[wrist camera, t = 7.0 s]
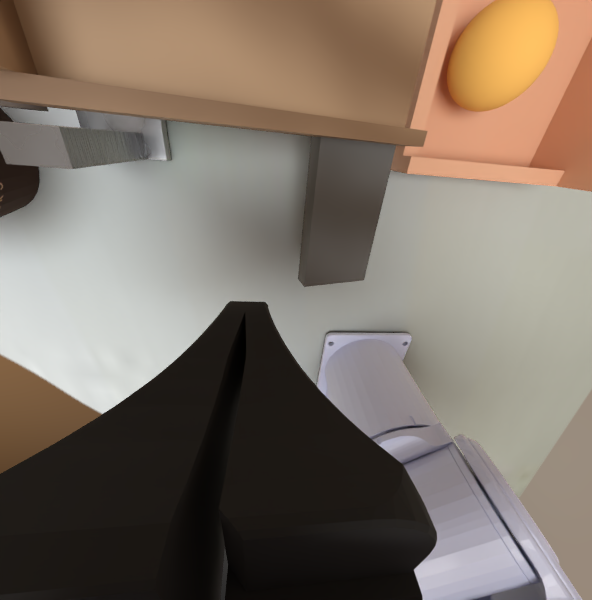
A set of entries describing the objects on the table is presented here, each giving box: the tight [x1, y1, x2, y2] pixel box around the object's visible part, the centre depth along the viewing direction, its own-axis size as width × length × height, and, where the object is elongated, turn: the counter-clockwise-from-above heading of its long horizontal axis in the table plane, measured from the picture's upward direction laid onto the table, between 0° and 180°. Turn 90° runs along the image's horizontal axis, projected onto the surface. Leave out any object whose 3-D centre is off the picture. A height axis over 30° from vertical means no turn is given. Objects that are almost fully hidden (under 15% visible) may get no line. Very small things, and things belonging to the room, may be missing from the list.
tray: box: [390, 0, 592, 192], centre depth 12 cm, size 10×10×5 cm
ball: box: [447, 0, 559, 112], centre depth 12 cm, size 4×4×4 cm
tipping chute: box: [0, 0, 436, 287], centre depth 9 cm, size 15×15×3 cm
